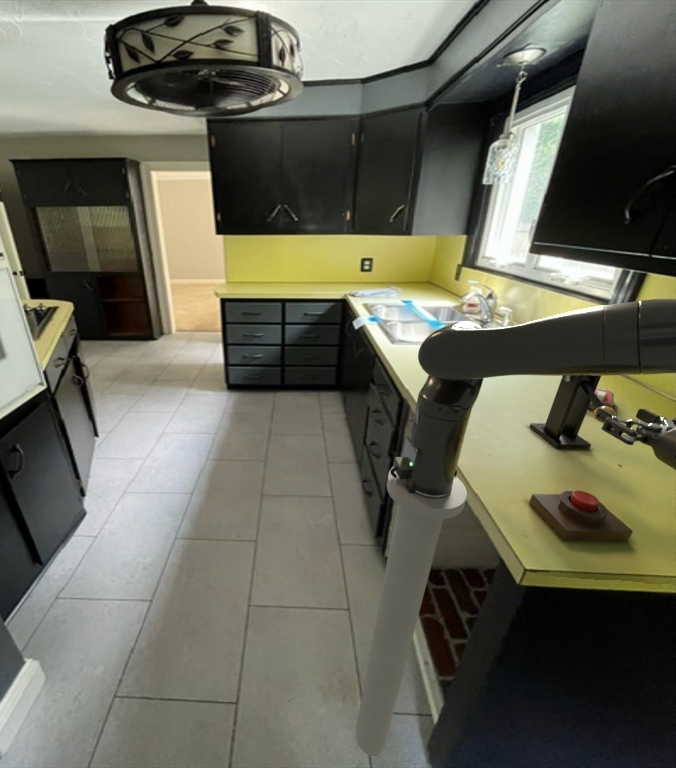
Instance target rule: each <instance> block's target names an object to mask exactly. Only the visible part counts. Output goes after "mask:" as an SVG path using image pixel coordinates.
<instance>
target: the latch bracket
mask: <svg viewBox="0 0 676 768" xmlns="http://www.w3.org/2000/svg"><path fill="white" fill-rule="evenodd" d="M583 376H584V375H573V376H562V377H561V379H560V382H559V384H558V387H557V391H556V393H555V396H554V399H553V401H552V404H551V407H550V410H549V412H548V416H547V418H546V421H545V422H542V423H541V422H540V423H539V422H531V423H530V424H529V428H530V429H531V430H532V431H534V433H536V434H537V435H538V436H540V437H541V438H543V440H545V441H546V442H547V443H549V444H550V445H551V446H552V447H554V448H555V449H559V450H561V449H566V450H567V449H570V450H571V449H573V450H574V449H575V450H577V449H579V450H590V449H591V447H592V444H591V443H590V442H588V441H587V440H585V439H584V438H582V436H580V435H579V432H580V430H581V427H582V424H583V422H584V419H585V417H586V415H587V413H588V408H589V405H590V403H591V401H590V399H589V398H588V396H587V395H586V393H585V392H584V390H583V389H582V387H580V384H581V381H582V379H583ZM588 376H589V377H590V379H591V381H590V382H589V383H588V384H589V385H590V387H591V388H592V390H593V391H594V393H595V390H596V388H598V386H599V383H600V381H601V378H602V375H588Z"/></svg>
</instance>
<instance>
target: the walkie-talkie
mask: <svg viewBox="0 0 676 768" xmlns="http://www.w3.org/2000/svg"><path fill="white" fill-rule="evenodd" d="M595 394H596V396H597V397H598V398H599V400H600V401H601V403H602V404H603V406H607V407H610V408H612V409H613V410H614V399H615V393H614V392H612V390H607V389H603V388H599V387H597V388H596V390H595ZM588 409H589V410H592V411H595V409H596V408H595V407H594V405H593V404H592V402H591V403H590V405H589V408H588Z"/></svg>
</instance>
